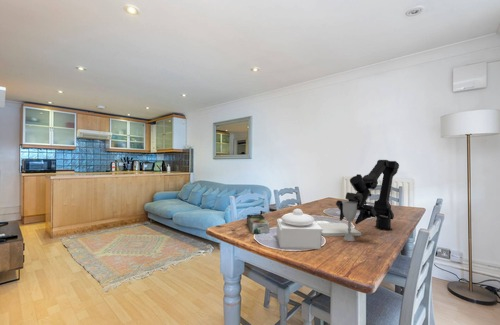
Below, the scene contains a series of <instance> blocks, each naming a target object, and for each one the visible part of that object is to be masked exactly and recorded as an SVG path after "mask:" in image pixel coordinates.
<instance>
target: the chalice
mask: <svg viewBox="0 0 500 325" xmlns="http://www.w3.org/2000/svg"><path fill="white" fill-rule="evenodd" d="M341 201H342V203H343V214H344V216H345V217H344V218H345V221H347V223H348V224H347V225H348V234H346V235H345V236H343V240H345V241H348V242H354V241H355V240H356V239H355V236H353V235H352V234H351V232H350V231H351V228H350V227H352V224H351V223H352V222H353V221H354V219H355V217H356V215H357V213H358V211H357V204H358V202H353V201H349V200H341Z"/></svg>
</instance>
